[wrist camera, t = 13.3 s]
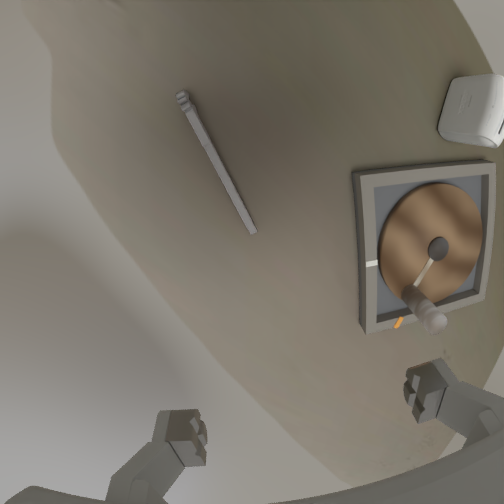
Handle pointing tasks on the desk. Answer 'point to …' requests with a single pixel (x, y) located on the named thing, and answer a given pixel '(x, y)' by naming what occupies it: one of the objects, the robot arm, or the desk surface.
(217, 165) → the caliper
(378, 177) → the dial base
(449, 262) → the dial
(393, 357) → the desk surface
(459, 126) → the photo printer
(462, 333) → the desk surface
